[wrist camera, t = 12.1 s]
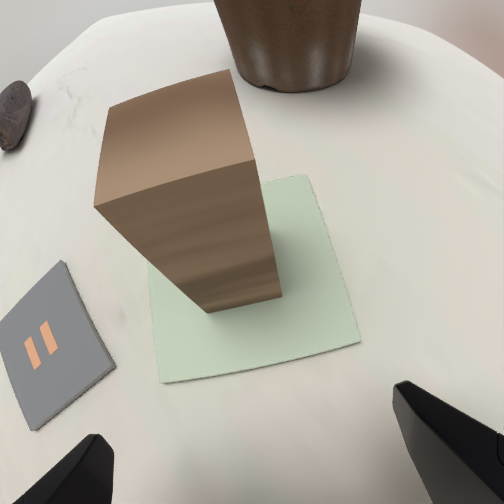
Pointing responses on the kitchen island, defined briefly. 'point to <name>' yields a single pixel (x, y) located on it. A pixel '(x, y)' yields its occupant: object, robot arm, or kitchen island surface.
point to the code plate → (51, 348)
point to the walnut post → (190, 192)
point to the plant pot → (291, 40)
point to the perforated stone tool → (14, 113)
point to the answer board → (263, 313)
